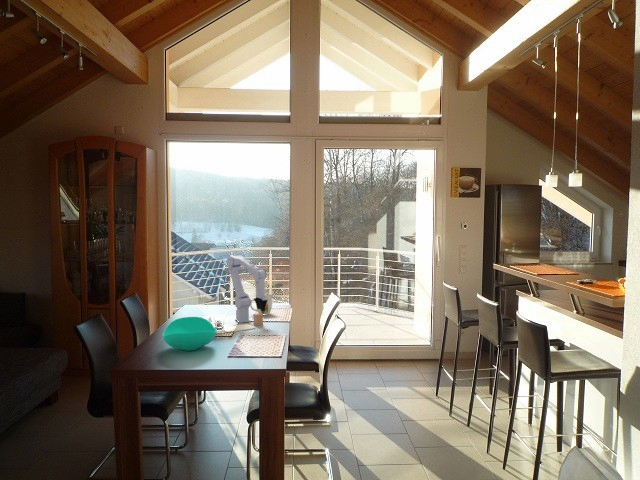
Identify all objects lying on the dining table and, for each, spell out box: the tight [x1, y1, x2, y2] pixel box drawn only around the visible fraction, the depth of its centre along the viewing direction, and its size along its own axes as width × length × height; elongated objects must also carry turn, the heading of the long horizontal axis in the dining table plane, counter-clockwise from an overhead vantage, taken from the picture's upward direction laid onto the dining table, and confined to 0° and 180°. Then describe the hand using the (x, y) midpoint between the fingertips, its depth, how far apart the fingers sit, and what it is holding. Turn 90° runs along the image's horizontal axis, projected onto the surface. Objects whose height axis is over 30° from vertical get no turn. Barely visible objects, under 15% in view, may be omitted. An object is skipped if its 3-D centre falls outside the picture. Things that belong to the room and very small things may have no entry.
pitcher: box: [249, 294, 276, 315], centre depth 348 cm, size 11×18×14 cm, turn 92°
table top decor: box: [162, 316, 217, 352], centre depth 263 cm, size 40×28×13 cm
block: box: [252, 312, 264, 327], centre depth 317 cm, size 4×4×7 cm
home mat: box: [233, 323, 256, 333], centre depth 307 cm, size 14×18×1 cm
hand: (260, 309), depth 316 cm, fingers open, 7 cm apart
